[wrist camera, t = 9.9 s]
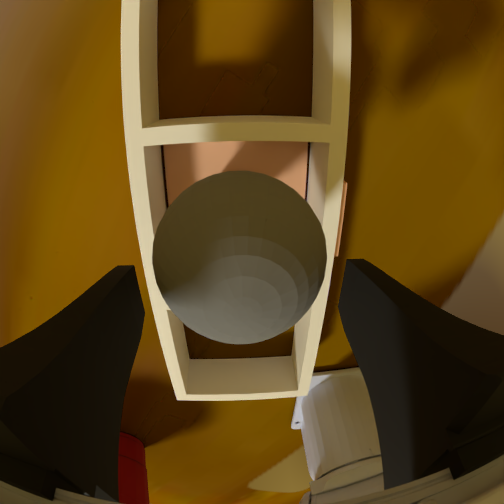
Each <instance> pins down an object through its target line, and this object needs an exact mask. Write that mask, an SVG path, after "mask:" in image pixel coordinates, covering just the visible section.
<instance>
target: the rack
mask: <svg viewBox="0 0 504 504" xmlns="http://www.w3.org/2000/svg"><path fill="white" fill-rule="evenodd" d="M157 16H158V0H122V11H121V78H122V100H123V116H124V130H125V141H126V152H127V161H128V170H129V178H130V186H131V194H132V201H133V208H134V215H135V221H136V227H137V233H138V239H139V245H140V251H141V256H142V261H143V267H144V272H145V277H146V281H147V286H148V291H149V296H150V300H151V305H152V309H153V313H154V317H155V322H156V326H157V330H158V334H159V338H160V342H161V346H162V349H163V353H164V357H165V360H166V364H167V368H168V371H169V375H170V378H171V381H172V385H173V388H174V392H175V395H176V398H177V400H191V401H223V400H254V399H271V398H285V397H297V396H307V395H308V391H309V387H310V383H311V378H312V374H313V369H314V365H315V360H316V355H317V350H318V345H319V340H320V335H321V330H322V325H323V320H324V314H325V309H326V303H327V297H328V292H329V286H330V279H331V273H332V267H333V260H334V256H338V252H339V245H340V238H341V231H342V224H343V216H344V208H345V200H346V191H347V182H345V181H344V170H345V159H346V147H347V134H348V119H349V101H350V77H351V0H313V88H312V117H302V116H269V115H240V116H206V117H188V118H174V119H162V120H159V100H158V67H157ZM308 142H310V159H309V176H308V191H307V203H308V204H309V205H310V207H311V208H312V210H313V211H314V213H315V215H316V216H317V218H318V220H319V221H320V223H321V226H322V229H323V232H324V235H325V239H326V249H327V263H326V270H325V277H324V281H323V283H322V286H321V289H320V291H319V293H318V296H317V298H316V299H315V301H314V303H313V304H312V306H311V307H310V309H309V310H308V311H307V313H306V314H305V315H304V316H303V317H302V318H301V319H300V320H299V321H298V322H297V323H296V324H295V329H294V337H293V345H292V353H291V356H280V357H262V358H238V359H190V358H189V353H188V348H187V343H186V337H185V332H184V326H183V322H182V321H181V320H180V319H179V318H178V317H177V316H176V315H175V314H174V313H173V312H172V311H171V309H170V308H169V307H168V305H167V304H166V302H165V301H164V299H163V297H162V295H161V293H160V290H159V288H158V286H157V284H156V280H155V275H154V270H153V264H152V251H153V241H154V237H155V234H156V230H157V227H158V225H159V223H160V221H161V219H162V217H163V215H164V214H165V212H166V210H167V207H166V197H165V187H164V176H163V165H162V152H161V145H163V146H164V160H165V172H166V183H167V194H168V204H169V206H170V205H171V204H172V202H173V201H174V200H175V199H176V198H177V197H178V196H179V195H180V194H181V193H182V192H183V191H184V190H186V189H187V188H188V187H190V186H191V185H192V184H194V183H195V182H197V181H199V180H202V179H204V178H206V177H208V176H211V175H213V174H218V173H222V172H227V171H251V172H257V173H263V174H266V175H268V176H271V177H273V178H276V179H278V180H281V181H282V182H284V183H285V184H287V185H288V186H290V187H291V188H293V189H294V190H295V191H297V192H298V193H299V194H300V195H301V196H302V197H303V198H304V199H305V188H306V172H307V154H308Z"/></svg>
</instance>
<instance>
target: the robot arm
mask: <svg viewBox="0 0 504 504" xmlns="http://www.w3.org/2000/svg"><path fill="white" fill-rule="evenodd" d="M338 309H339V313H340V317H341V321H342V324H343V328H344V331H345V334H346V336H347V339H348V341H349V343H350V346H351V348H352V351H353V353H354V356H355V358H356V360H357V363H358V365H359V367H358V368H350V369H343V370H335V371H326V372H316V373H313V374H312V378H311V383H310V387H309V391H308V395H307V396H297V398H296V403H295V408H294V413H293V418H292V423H291V428H292V429H301V431H302V436H303V442H304V447H305V453H306V459H307V464H308V470H309V473H310V476H311V478H312V479H313V481H311V482H310V489H311V491H310V492H306V493H305V494H304V495H303V498H302V499H301V501H300V503H299V504H504V335H501V334H498V333H495V332H492V331H488V330H486V329H483V328H481V327H478V326H476V325H474V324H471V323H469V322H467V321H464V320H462V319H460V318H458V317H455V316H454V315H452V314H450V313H448V312H446V311H444V310H442V309H440V308H439V307H437V306H435V305H433V304H432V303H430V302H428V301H427V300H425V299H423V298H422V297H420V296H419V295H417V294H415V293H414V292H412V291H411V290H409V289H408V288H406V287H405V286H403V285H402V284H400V283H399V282H398V281H396V280H395V279H393V278H392V277H390V276H389V275H387V274H386V273H385V272H383V271H382V270H380V269H379V268H377V267H376V266H374V265H373V264H371V263H370V262H368V261H366V260H364V259H347V261H346V267H345V272H344V278H343V283H342V289H341V294H340V299H339V304H338ZM144 316H145V311H144V307H143V302H142V298H141V294H140V290H139V285H138V281H137V276H136V272H135V267H134V265H127V266H117V267H115V268H114V269H112V270H111V271H110V272H108V273H107V274H106V275H105V276H103V277H102V278H101V279H100V280H99V281H97V282H96V283H95V284H94V285H93V286H91V287H90V288H89V289H88V290H87V291H85V292H84V293H83V294H82V295H81V296H79V297H78V298H77V299H76V300H74V301H73V302H72V303H70V304H69V305H68V306H67V307H65V308H64V309H63V310H62V311H60V312H59V313H58V314H56V315H55V316H53V317H52V318H51V319H49V320H48V321H46V322H45V323H43V324H42V325H40V326H39V327H37V328H36V329H34V330H32V331H31V332H29V333H27V334H25V335H23V336H22V337H20V338H18V339H16V340H15V341H13V342H11V343H9V344H7V345H5V346H3V347H1V348H0V504H122V503H119V487H118V454H119V437H120V425H121V417H122V409H123V402H124V396H125V392H126V387H127V384H128V380H129V377H130V373H131V370H132V366H133V363H134V359H135V356H136V353H137V349H138V346H139V342H140V339H141V334H142V329H143V322H144Z"/></svg>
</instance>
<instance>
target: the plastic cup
mask: <svg viewBox="0 0 504 504" xmlns="http://www.w3.org/2000/svg"><path fill="white" fill-rule="evenodd" d="M118 487H119V503H122V504H149V494H148V482H147V469H146V464H145V450H144V445H143V443H142V442H141V441H140V440H139V439H137V438H136V437H133V436H131V435H129V434H126V433H123V432H120V437H119V454H118Z"/></svg>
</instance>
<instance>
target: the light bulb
mask: <svg viewBox="0 0 504 504" xmlns="http://www.w3.org/2000/svg"><path fill="white" fill-rule="evenodd" d="M326 263H327V249H326V239H325V235H324V232H323V229H322V226H321V223H320V221H319V220H318V218H317V216H316V215H315V213H314V211H313V210H312V208H311V207H310V205H309V204H308V203H307V202H306V200H305V199H304V198H303V197H302V196H301V195H300V194H299V193H298V192H297V191H295V190H294V189H293V188H291V187H290V186H288V185H287V184H285V183H284V182H282V181H281V180H278V179H276V178H273V177H271V176H268V175H266V174H263V173H257V172H251V171H227V172H222V173H218V174H213V175H211V176H208V177H206V178H204V179H202V180H199V181H197V182H195V183H194V184H192V185H191V186H190V187H188V188H187V189H186V190H184V191H183V192H182V193H181V194H180V195H179V196H178V197H177V198H176V199H175V200H174V201H173V202H172V204H171V205H170V206H169V207H168V208H167V210H166V212H165V214H164V215H163V217H162V219H161V221H160V223H159V225H158V227H157V230H156V234H155V237H154V241H153V251H152V264H153V270H154V275H155V280H156V284H157V286H158V288H159V290H160V293H161V295H162V297H163V299H164V301H165V302H166V304H167V305H168V307H169V308H170V309H171V311H172V312H173V313H174V314H175V315H176V316H177V317H178V318H179V319H180V320H181V321H182V322H183V323H184V324H185V325H186V326H187V327H189V328H190V329H192V330H193V331H195V332H196V333H198V334H200V335H203V336H205V337H207V338H210V339H212V340H215V341H219V342H223V343H229V344H251V343H257V342H261V341H264V340H267V339H270V338H273V337H275V336H277V335H279V334H280V333H282V332H284V331H286V330H288V329H289V328H290V327H292V326H293V325H294V324H296V323H297V322H298V321H299V320H300V319H301V318H302V317H303V316H304V315H305V314H306V313H307V311H308V310H309V309H310V307H311V306H312V304H313V303H314V301H315V299H316V298H317V296H318V293H319V291H320V289H321V286H322V283H323V281H324V277H325V270H326Z"/></svg>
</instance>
